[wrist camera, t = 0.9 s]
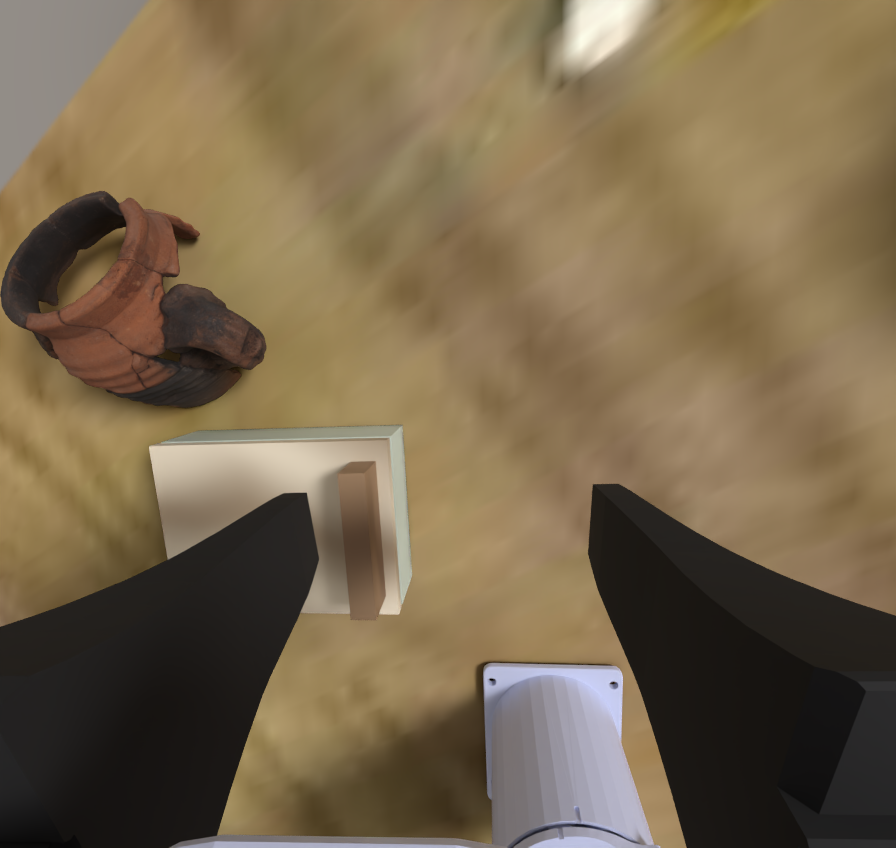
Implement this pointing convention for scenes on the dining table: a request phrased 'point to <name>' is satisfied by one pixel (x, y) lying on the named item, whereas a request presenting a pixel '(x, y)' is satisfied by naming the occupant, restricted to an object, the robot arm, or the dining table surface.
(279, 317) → the dining table surface
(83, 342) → the brown figurine
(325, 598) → the lid
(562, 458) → the dining table surface
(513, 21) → the dining table surface
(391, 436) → the box
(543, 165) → the dining table surface
